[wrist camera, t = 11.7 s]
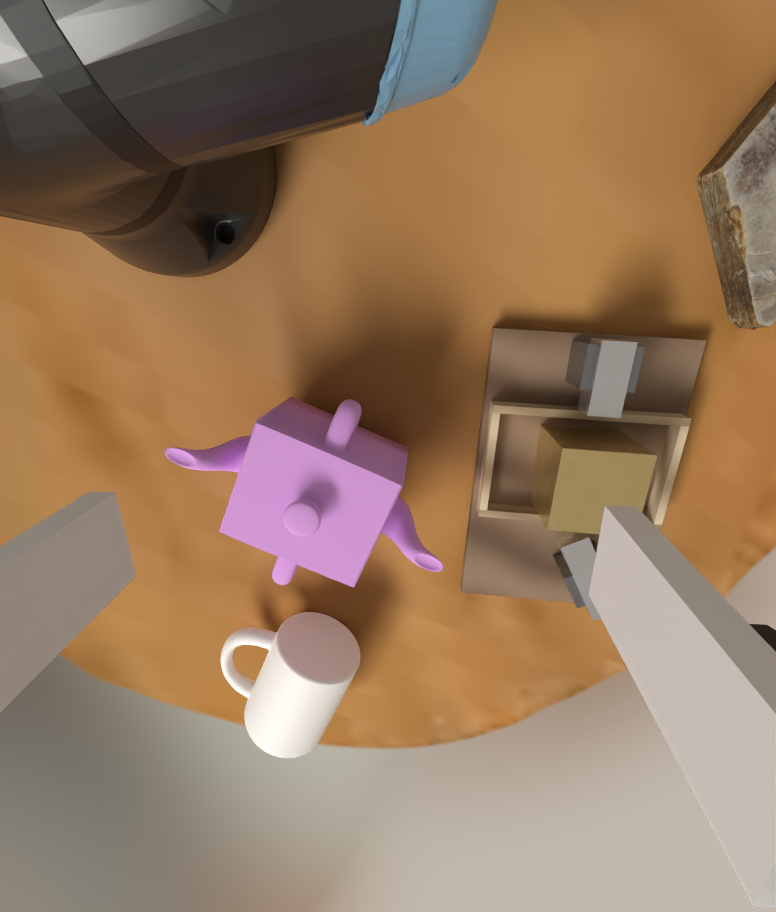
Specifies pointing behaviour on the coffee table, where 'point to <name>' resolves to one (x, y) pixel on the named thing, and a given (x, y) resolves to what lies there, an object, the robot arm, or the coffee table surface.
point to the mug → (294, 680)
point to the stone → (745, 216)
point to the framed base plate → (555, 403)
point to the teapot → (314, 491)
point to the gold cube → (587, 476)
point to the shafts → (602, 394)
